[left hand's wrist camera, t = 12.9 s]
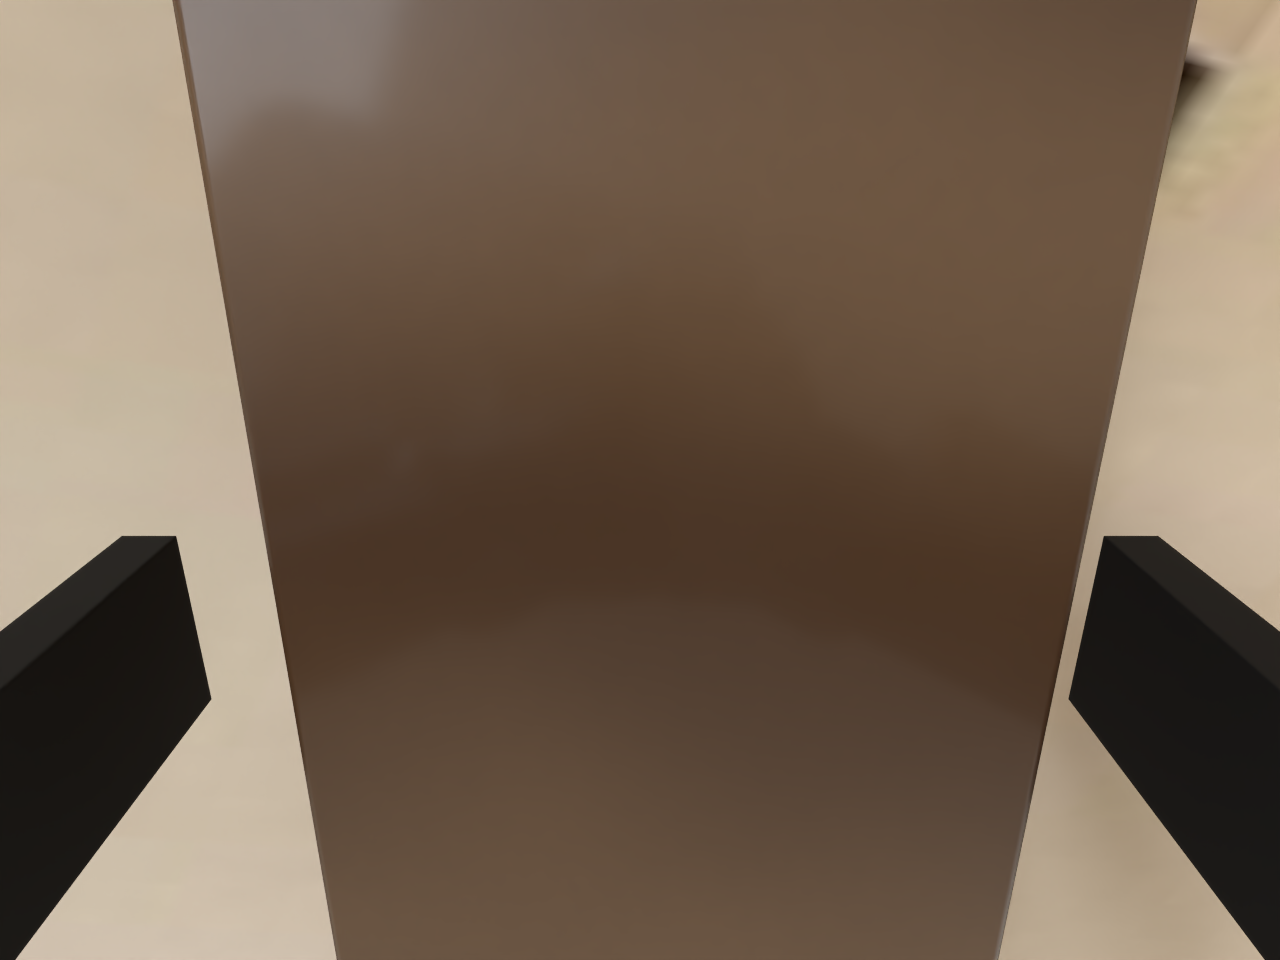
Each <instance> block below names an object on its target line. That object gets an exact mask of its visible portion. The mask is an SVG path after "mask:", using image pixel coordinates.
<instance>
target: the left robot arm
mask: <svg viewBox="0 0 1280 960" xmlns="http://www.w3.org/2000/svg"><path fill="white" fill-rule="evenodd" d="M210 700H211V695H210V690H209V686H208V681H207V676H206V672H205V667H204V663H203V658H202V653H201V649H200V644H199V639H198V635H197V630H196V626H195V621H194V616H193V612H192V607H191V603H190V598H189V593H188V589H187V584H186V579H185V575H184V570H183V566H182V561H181V556H180V552H179V547H178V543H177V538H176V536H121V537H120V538H119V539H118V540H116V541H115V542H114V543H112V544H111V545H110V546H109V547H107V548H106V549H105V550H104V551H102V552H101V553H100V554H98V555H97V556H96V557H95V558H93V559H92V560H91V561H90V562H88V563H87V564H86V565H84V566H83V567H82V568H81V569H79V570H78V571H77V572H76V573H74V574H73V575H72V576H70V577H69V578H68V579H67V580H65V581H64V582H63V583H62V584H60V585H59V586H58V587H56V588H55V589H54V590H53V591H51V592H50V593H49V594H48V595H46V596H45V597H44V598H42V599H41V600H40V601H39V602H37V603H36V604H35V605H33V606H32V607H31V608H30V609H28V610H27V611H26V612H25V613H23V614H22V615H21V616H19V617H18V618H17V619H16V620H14V621H13V622H12V623H11V624H9V625H8V626H7V627H5V628H4V629H3V630H2V631H0V960H15V959H16V958H17V957H18V955H19V954H20V953H21V951H22V950H23V949H24V947H25V946H26V945H27V943H28V942H29V941H30V939H31V938H32V937H33V935H34V934H35V933H36V931H37V930H38V929H39V928H40V926H41V925H42V924H43V922H44V921H45V920H46V918H47V917H48V916H49V914H50V913H51V912H52V910H53V909H54V908H55V906H56V905H57V904H58V902H59V901H60V900H61V898H62V897H63V896H64V894H65V893H66V892H67V890H68V889H69V888H70V886H71V885H72V884H73V882H74V881H75V880H76V878H77V877H78V876H79V874H80V873H81V872H82V870H83V869H84V868H85V866H86V865H87V864H88V862H89V861H90V860H91V858H92V857H93V856H94V854H95V853H96V852H97V850H98V849H99V848H100V846H101V845H102V844H103V842H104V841H105V840H106V838H107V837H108V836H109V834H110V833H111V832H112V830H113V829H114V828H115V827H116V825H117V824H118V823H119V821H120V820H121V819H122V817H123V816H124V815H125V813H126V812H127V811H128V809H129V808H130V807H131V805H132V804H133V803H134V801H135V800H136V799H137V797H138V796H139V795H140V793H141V792H142V791H143V789H144V788H145V787H146V785H147V784H148V783H149V781H150V780H151V779H152V777H153V776H154V775H155V773H156V772H157V771H158V769H159V768H160V767H161V765H162V764H163V763H164V761H165V760H166V759H167V757H168V756H169V755H170V753H171V752H172V751H173V749H174V748H175V747H176V745H177V744H178V743H179V741H180V740H181V739H182V737H183V736H184V735H185V733H186V732H187V731H188V729H189V728H190V727H191V726H192V724H193V723H194V722H195V720H196V719H197V718H198V716H199V715H200V714H201V712H202V711H203V710H204V708H205V707H206V706H207V704H208V703H209V702H210ZM1069 700H1070V702H1071V703H1072V704H1073V706H1074V707H1075V708H1076V710H1077V711H1078V712H1079V714H1080V715H1081V716H1082V718H1083V719H1084V720H1085V722H1086V723H1087V724H1088V726H1089V727H1090V728H1091V729H1092V731H1093V732H1094V733H1095V735H1096V736H1097V737H1098V739H1099V740H1100V741H1101V743H1102V744H1103V745H1104V747H1105V748H1106V749H1107V751H1108V752H1109V753H1110V755H1111V756H1112V757H1113V759H1114V760H1115V761H1116V763H1117V764H1118V765H1119V767H1120V768H1121V769H1122V771H1123V772H1124V773H1125V775H1126V776H1127V777H1128V779H1129V780H1130V781H1131V783H1132V784H1133V785H1134V787H1135V788H1136V789H1137V791H1138V792H1139V793H1140V795H1141V796H1142V797H1143V799H1144V800H1145V801H1146V803H1147V804H1148V805H1149V807H1150V808H1151V809H1152V811H1153V812H1154V813H1155V815H1156V816H1157V817H1158V819H1159V820H1160V821H1161V823H1162V824H1163V825H1164V827H1165V828H1166V829H1167V830H1168V832H1169V833H1170V834H1171V836H1172V837H1173V838H1174V840H1175V841H1176V842H1177V844H1178V845H1179V846H1180V848H1181V849H1182V850H1183V852H1184V853H1185V854H1186V856H1187V857H1188V858H1189V860H1190V861H1191V862H1192V864H1193V865H1194V866H1195V868H1196V869H1197V870H1198V872H1199V873H1200V874H1201V876H1202V877H1203V878H1204V880H1205V881H1206V882H1207V884H1208V885H1209V886H1210V888H1211V889H1212V890H1213V892H1214V893H1215V894H1216V896H1217V897H1218V898H1219V900H1220V901H1221V902H1222V904H1223V905H1224V906H1225V908H1226V909H1227V910H1228V912H1229V913H1230V914H1231V916H1232V917H1233V918H1234V920H1235V921H1236V922H1237V924H1238V925H1239V926H1240V928H1241V929H1242V930H1243V931H1244V933H1245V934H1246V935H1247V937H1248V938H1249V939H1250V941H1251V942H1252V943H1253V945H1254V946H1255V947H1256V949H1257V950H1258V951H1259V953H1260V954H1261V955H1262V957H1263V958H1264V959H1265V960H1280V631H1278V630H1277V629H1276V628H1275V627H1273V626H1272V625H1271V624H1269V623H1268V622H1267V621H1266V620H1264V619H1263V618H1262V617H1261V616H1259V615H1258V614H1257V613H1255V612H1254V611H1253V610H1252V609H1250V608H1249V607H1248V606H1247V605H1245V604H1244V603H1243V602H1241V601H1240V600H1239V599H1238V598H1236V597H1235V596H1234V595H1232V594H1231V593H1230V592H1229V591H1227V590H1226V589H1225V588H1224V587H1222V586H1221V585H1220V584H1218V583H1217V582H1216V581H1215V580H1213V579H1212V578H1211V577H1210V576H1208V575H1207V574H1206V573H1204V572H1203V571H1202V570H1201V569H1199V568H1198V567H1197V566H1196V565H1194V564H1193V563H1192V562H1190V561H1189V560H1188V559H1187V558H1185V557H1184V556H1183V555H1182V554H1180V553H1179V552H1178V551H1176V550H1175V549H1174V548H1173V547H1171V546H1170V545H1169V544H1168V543H1166V542H1165V541H1164V540H1162V539H1161V538H1160V537H1159V536H1104V538H1103V543H1102V547H1101V552H1100V556H1099V561H1098V566H1097V570H1096V575H1095V579H1094V584H1093V589H1092V593H1091V598H1090V603H1089V607H1088V612H1087V616H1086V621H1085V626H1084V630H1083V635H1082V639H1081V644H1080V649H1079V653H1078V658H1077V663H1076V667H1075V672H1074V676H1073V681H1072V686H1071V690H1070V695H1069Z"/></svg>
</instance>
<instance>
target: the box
mask: <svg viewBox="0 0 1280 960" xmlns="http://www.w3.org/2000/svg"><path fill="white" fill-rule="evenodd" d="M1196 4H1197V0H173V6H174V12H175V17H176V23H177V29H178V35H179V41H180V47H181V52H182V58H183V64H184V70H185V76H186V82H187V87H188V93H189V99H190V105H191V111H192V117H193V122H194V128H195V134H196V140H197V146H198V152H199V157H200V163H201V169H202V175H203V181H204V187H205V192H206V198H207V204H208V210H209V216H210V222H211V228H212V233H213V239H214V245H215V251H216V257H217V263H218V268H219V274H220V280H221V286H222V292H223V298H224V303H225V309H226V315H227V321H228V327H229V333H230V338H231V344H232V350H233V356H234V362H235V368H236V373H237V379H238V385H239V391H240V397H241V403H242V408H243V414H244V420H245V426H246V432H247V438H248V443H249V449H250V455H251V461H252V467H253V473H254V478H255V484H256V490H257V496H258V502H259V508H260V513H261V519H262V525H263V531H264V537H265V543H266V549H267V554H268V560H269V566H270V572H271V578H272V584H273V589H274V595H275V601H276V607H277V613H278V619H279V624H280V630H281V636H282V642H283V648H284V654H285V659H286V665H287V671H288V677H289V683H290V689H291V694H292V700H293V706H294V712H295V718H296V724H297V729H298V735H299V741H300V747H301V753H302V759H303V764H304V770H305V776H306V782H307V788H308V794H309V799H310V805H311V811H312V817H313V823H314V829H315V835H316V840H317V846H318V852H319V858H320V864H321V870H322V875H323V881H324V887H325V893H326V899H327V905H328V910H329V916H330V922H331V928H332V934H333V940H334V945H335V951H336V957H337V960H998V957H999V953H1000V948H1001V943H1002V938H1003V933H1004V929H1005V924H1006V919H1007V914H1008V909H1009V904H1010V900H1011V895H1012V890H1013V885H1014V880H1015V876H1016V871H1017V866H1018V861H1019V856H1020V851H1021V847H1022V842H1023V837H1024V832H1025V827H1026V823H1027V818H1028V813H1029V808H1030V803H1031V798H1032V794H1033V789H1034V784H1035V779H1036V774H1037V770H1038V765H1039V760H1040V755H1041V750H1042V745H1043V741H1044V736H1045V731H1046V726H1047V721H1048V717H1049V712H1050V707H1051V702H1052V697H1053V692H1054V688H1055V683H1056V678H1057V673H1058V668H1059V664H1060V659H1061V654H1062V649H1063V644H1064V639H1065V635H1066V630H1067V625H1068V620H1069V615H1070V611H1071V606H1072V601H1073V596H1074V591H1075V586H1076V582H1077V577H1078V572H1079V567H1080V562H1081V558H1082V553H1083V548H1084V543H1085V538H1086V533H1087V529H1088V524H1089V519H1090V514H1091V509H1092V505H1093V500H1094V495H1095V490H1096V485H1097V481H1098V476H1099V471H1100V466H1101V461H1102V456H1103V452H1104V447H1105V442H1106V437H1107V432H1108V428H1109V423H1110V418H1111V413H1112V408H1113V403H1114V399H1115V394H1116V389H1117V384H1118V379H1119V375H1120V370H1121V365H1122V360H1123V355H1124V350H1125V346H1126V341H1127V336H1128V331H1129V326H1130V322H1131V317H1132V312H1133V307H1134V302H1135V297H1136V293H1137V288H1138V283H1139V278H1140V273H1141V269H1142V264H1143V259H1144V254H1145V249H1146V244H1147V240H1148V235H1149V230H1150V225H1151V220H1152V216H1153V211H1154V206H1155V201H1156V196H1157V191H1158V187H1159V182H1160V177H1161V172H1162V167H1163V163H1164V158H1165V153H1166V148H1167V143H1168V138H1169V134H1170V129H1171V124H1172V119H1173V114H1174V110H1175V105H1176V100H1177V95H1178V90H1179V86H1180V81H1181V76H1182V71H1183V66H1184V61H1185V57H1186V52H1187V47H1188V42H1189V37H1190V33H1191V28H1192V23H1193V18H1194V13H1195V8H1196Z"/></svg>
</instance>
